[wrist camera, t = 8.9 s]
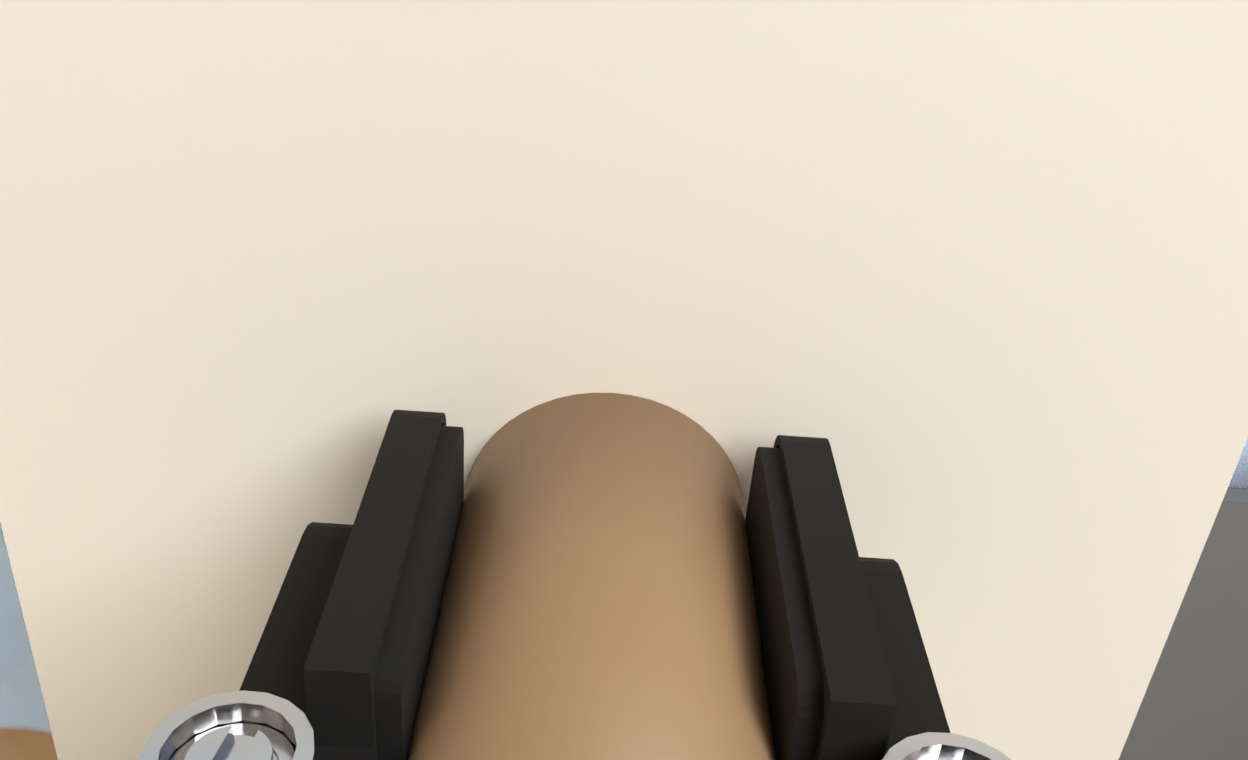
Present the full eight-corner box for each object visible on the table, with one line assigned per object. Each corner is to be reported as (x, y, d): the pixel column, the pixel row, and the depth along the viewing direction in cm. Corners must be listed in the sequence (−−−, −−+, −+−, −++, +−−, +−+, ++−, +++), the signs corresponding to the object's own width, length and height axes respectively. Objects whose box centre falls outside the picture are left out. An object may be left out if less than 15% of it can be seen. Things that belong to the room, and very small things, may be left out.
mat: (1419, 500, 30) (1432, 514, 29) (1215, 903, 38) (1223, 920, 37) (712, 454, 29) (714, 468, 29) (657, 873, 37) (658, 890, 37)
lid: (1383, -107, 11) (2320, 132, 5) (1027, 858, 18) (1229, 1460, 12) (-101, -225, 11) (-1108, -130, 5) (118, 806, 18) (-162, 1398, 12)
